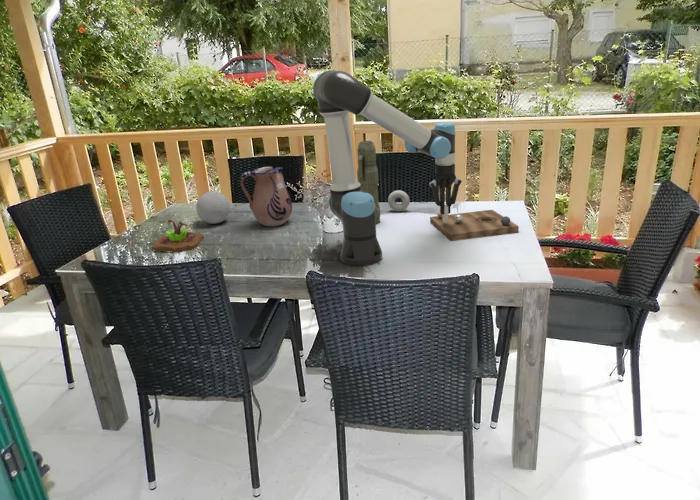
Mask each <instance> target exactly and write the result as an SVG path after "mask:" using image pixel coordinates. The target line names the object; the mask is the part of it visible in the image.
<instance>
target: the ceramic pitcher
mask: <svg viewBox="0 0 700 500" xmlns="http://www.w3.org/2000/svg"><path fill="white" fill-rule="evenodd" d="M283 170H284V167H279V166H277V167H273V166H263V167H260V168H255V169H254V170H252V171H246V172H244V173H242V174H241V176H240V178H239V179H240V180H239V182H240V183H239V184H240V187H241V189H242V191H243V194H244V195H245V197H246V198H247V200H248V202H249V209H250V210H251V212H252V214H253V217H254V218H255V219H256V221H258V223H259V224H261V225H263V226H266V227H277V226H282V225H283V224H286V222H287V221H288V220H289V218H290V217H291V216H292V212H293V203H292V200H291V197H290V193H289V190H288V188H287V185H286V182H285V179H284V174H283V173H284V171H283ZM247 177H252V178H253V179H254V181H255V184H254V189H253V194H252V195H250V193H249V192H248V190H247V189H246V187H245V182H244V181H245V179H246V178H247Z"/></svg>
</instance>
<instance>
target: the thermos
mask: <svg viewBox="0 0 700 500" xmlns="http://www.w3.org/2000/svg"><path fill="white" fill-rule="evenodd" d="M356 151H357V166H358V168H357V171H356V173H357V181H358V182H359V183H360V184H361V192H364V193H368V194H370V195H372V196H373V198H374V203H375V218H376V225H379V224H380V223H381V206H380V203H379V189H378V188H379V187H378V185H379V170H378V167H377V162H376V160H377V155H376V154H377V153H376V151H377V150H376V145H375V144H374V142H373V141H371V140H364V141H363V140H362V141H360V142H359V143H358V145H357V150H356Z"/></svg>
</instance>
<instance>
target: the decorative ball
mask: <svg viewBox="0 0 700 500" xmlns="http://www.w3.org/2000/svg"><path fill="white" fill-rule="evenodd" d="M196 201H197V202H196V212H197V213H196V214H197V216H198V217H199V218H200V219H201V220H202V221H203V222H204V223H206V224H207V223H208V224H211V225H215V224H216V225H218V224H220V223H222V222H224V221H225V220H226V219H227V218H228V217H229V214H230V211H231V205H230V201H229V199H228V198H227V196H226V195H224V194H223V193H221V192H219V191H215V190H213V191H212V190H211V191H206V192H205V193H203V194H202V195H200V196H199V198H198V199H197V200H196Z"/></svg>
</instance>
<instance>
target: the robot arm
mask: <svg viewBox="0 0 700 500" xmlns="http://www.w3.org/2000/svg"><path fill="white" fill-rule="evenodd" d="M312 86H313V87H312V91H313V95H314V98H315V100H317V107H318V113H319V114H320V115H321V116H322V117H323V119H324V124H325V125H324V126H325V127H324V128H325V133H326V135H325V136H326V140H327V148H328V155H329V156H328V157H329V163H330V170H331V177H332V178H331V179H332V183H331V185H330V186H329V192H330V193H329V194H330V195H329V199H328V205H329V207H330V208H329V209H330V211H331V212H332V214H333V215H334V216H335V217H336V218H338V219H339V220H340V221H341V222H342V228H343V230H342V231H343V241H342V244H341V245H342V246H341V249H340V261H341V262H342V263H343V264H345V265H348V266H355V267H360V266H361V267H362V266H369V265H370V266H371V265H374V264H377V263H378V262H380V261H381V260H382V258H383V251H382V248H381V245H380V243H379V240H378V238H377V224H376V218H375V203H374V198H373V196H372V195H370V194H368V193H364V192H361V184H360V183H359V182H358V179H357V178H356V170H355V161H354V153H353V145H352V144H353V143H352V137H351V134H352V133H351V127H350V119H349V114H350V113H351V114H353V115H355V116H363V117H365V118H366V119H367V120H370V121H371V122H373V123H375V124H377V125H378V126H379V127H382V128H383V129H384V130H387V132H390V133H391V134H393V135H395V136H396V137H398V138H400V139H402V140H404V148H405V150H406V151H407V153H409V154H410V153H412V154H413V153H414V154H416V153H420V154H421V153H422V154H424V155H427V156H429V157H433V158H434V160H435V161H434V162H435V166H434V167H435V169H434V170H435V171H434V173H435V176H434V178H433V180H432V181H429V183H428V185H429V186H430V188H431V191H432V192H431V193H432V195H433V199H434V203H435V205H436V206H438V207H439V210H440V213H441V214H442V221H443V222H445V223H446V222H448V215H451V208H452V205H455V204H456V202H457V201H456V200H457V197H458V192H459V188H460V185H461V183H462V180H461V179H460V178H457V176H456V164H455V163H456V128H455V124H454V123H453V122H448V121H447V122H446V121H445V122H438V123H435V125H434V129H430V128H428V127H426V126H424V124H422V123H420V122H418V121H416V120H415V119H414V118H412V117H410V116H409V115H407V114H406V113H404V112H402V111H400V110H399V109H397V108H396V107H394V106H393V105H391V104H389V103H387V102H386V101H384V100H383V99H381V98H380V97H379V96H377V95H375V94H373V91H372V89H371V88H370V87H368V86H367V85H365V84H364V83H362V82H361V81H359V79H357V78H355V77H354V76H353V75H351V74H350V73H348V72H346V71H344V70H335V69H333V70H331V69H329V70H324V71H323V72H321V73H320V74H319V75H318V76H317V77H316V78H315V80H314V82H313V85H312ZM453 183H454V184H453ZM437 185H438V186H439V187H438V188H439V193H438V191H437ZM452 185H453V188H452Z"/></svg>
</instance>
